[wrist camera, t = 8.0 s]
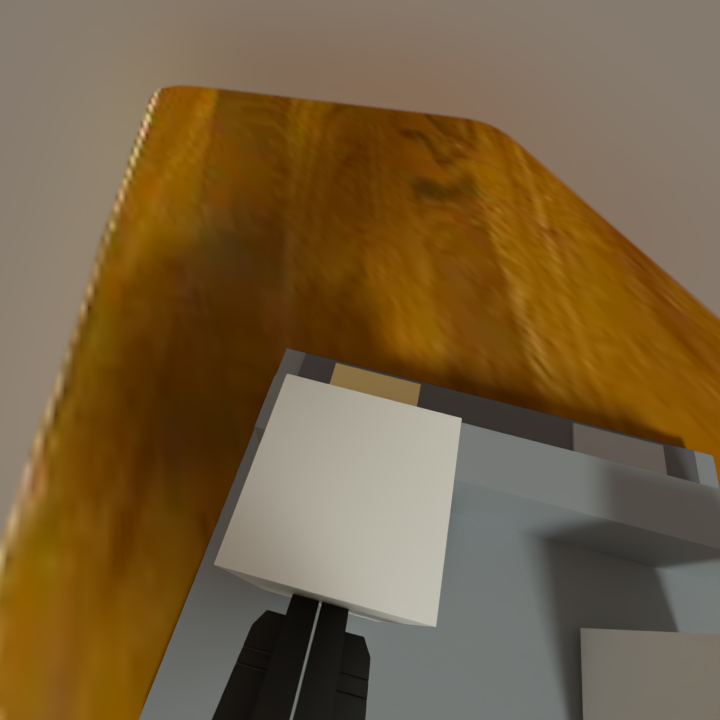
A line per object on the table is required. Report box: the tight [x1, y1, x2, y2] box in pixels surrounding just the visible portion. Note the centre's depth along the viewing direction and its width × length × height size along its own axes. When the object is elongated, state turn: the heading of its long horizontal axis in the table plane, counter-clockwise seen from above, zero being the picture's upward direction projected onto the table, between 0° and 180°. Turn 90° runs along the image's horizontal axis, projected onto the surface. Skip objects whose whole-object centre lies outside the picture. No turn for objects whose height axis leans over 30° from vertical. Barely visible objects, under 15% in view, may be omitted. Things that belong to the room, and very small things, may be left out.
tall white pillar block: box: [214, 374, 462, 627], centre depth 12 cm, size 4×4×8 cm
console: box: [139, 348, 720, 720], centre depth 15 cm, size 15×20×5 cm
